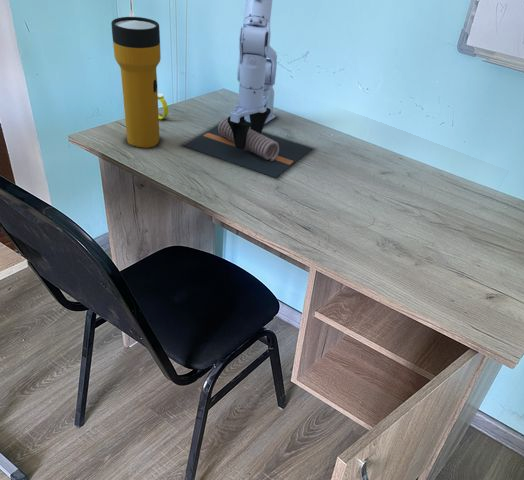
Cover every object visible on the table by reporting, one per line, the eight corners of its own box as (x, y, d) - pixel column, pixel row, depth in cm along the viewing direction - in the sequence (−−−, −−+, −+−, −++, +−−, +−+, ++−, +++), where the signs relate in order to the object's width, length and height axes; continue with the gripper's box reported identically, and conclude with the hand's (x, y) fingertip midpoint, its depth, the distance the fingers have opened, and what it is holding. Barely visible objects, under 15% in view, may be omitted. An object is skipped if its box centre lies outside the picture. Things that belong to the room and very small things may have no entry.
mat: (226, 121, 144) (226, 120, 144) (312, 149, 136) (312, 148, 136) (183, 146, 131) (183, 145, 131) (275, 178, 123) (276, 177, 123)
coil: (282, 141, 127) (231, 115, 135) (268, 143, 124) (217, 117, 133) (278, 160, 130) (229, 134, 138) (265, 163, 127) (215, 136, 136)
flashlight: (121, 12, 117) (165, 19, 116) (131, 129, 135) (169, 136, 134) (103, 23, 110) (149, 30, 109) (116, 145, 128) (156, 153, 127)
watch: (146, 115, 142) (145, 92, 138) (154, 112, 144) (153, 89, 140) (163, 122, 140) (162, 99, 136) (170, 119, 142) (169, 96, 138)
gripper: (250, 98, 117) (246, 157, 126) (281, 81, 126) (275, 138, 136) (223, 89, 119) (221, 149, 128) (255, 73, 128) (251, 130, 138)
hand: (247, 143), depth 132 cm, fingers open, 7 cm apart
